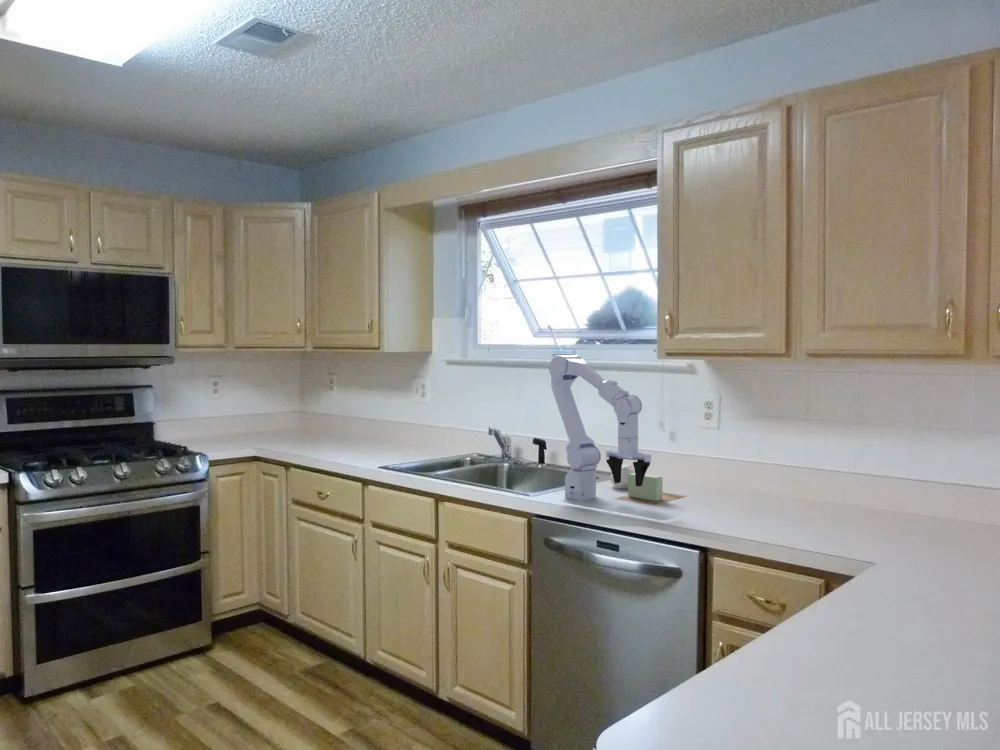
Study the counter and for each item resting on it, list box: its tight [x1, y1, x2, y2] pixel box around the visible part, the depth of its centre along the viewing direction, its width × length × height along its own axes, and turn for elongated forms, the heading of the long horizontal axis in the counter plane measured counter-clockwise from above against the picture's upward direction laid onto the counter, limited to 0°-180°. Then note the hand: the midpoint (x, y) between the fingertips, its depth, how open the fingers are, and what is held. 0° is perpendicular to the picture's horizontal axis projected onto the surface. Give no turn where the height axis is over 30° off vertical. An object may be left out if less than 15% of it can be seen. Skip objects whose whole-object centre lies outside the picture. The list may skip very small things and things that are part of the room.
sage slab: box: [627, 473, 663, 502], centre depth 229 cm, size 3×10×7 cm, turn 44°
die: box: [609, 464, 635, 490], centre depth 248 cm, size 8×9×10 cm
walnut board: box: [614, 491, 688, 506], centre depth 231 cm, size 18×14×1 cm
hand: (628, 484), depth 222 cm, fingers open, 7 cm apart
